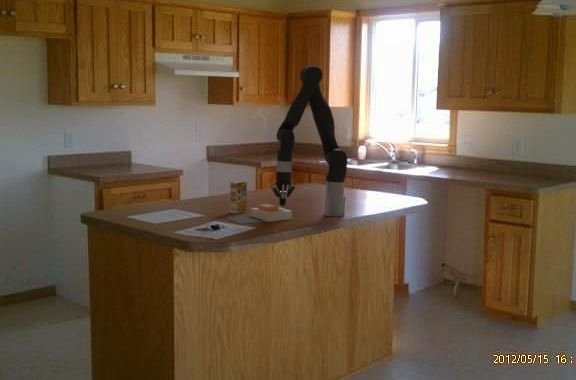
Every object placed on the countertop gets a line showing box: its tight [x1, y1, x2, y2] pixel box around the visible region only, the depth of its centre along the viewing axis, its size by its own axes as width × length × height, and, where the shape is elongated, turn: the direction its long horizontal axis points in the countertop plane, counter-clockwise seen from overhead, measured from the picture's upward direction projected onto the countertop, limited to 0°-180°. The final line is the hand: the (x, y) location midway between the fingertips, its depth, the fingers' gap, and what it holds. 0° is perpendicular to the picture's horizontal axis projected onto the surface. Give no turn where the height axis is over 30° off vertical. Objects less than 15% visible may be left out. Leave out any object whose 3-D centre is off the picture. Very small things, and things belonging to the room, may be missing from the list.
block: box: [257, 203, 280, 212], centre depth 326 cm, size 6×9×2 cm, turn 36°
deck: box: [250, 206, 293, 223], centre depth 328 cm, size 14×14×4 cm
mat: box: [224, 215, 266, 225], centre depth 320 cm, size 14×14×1 cm
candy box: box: [229, 180, 248, 215], centre depth 338 cm, size 9×4×15 cm, turn 146°
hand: (282, 205), depth 331 cm, fingers closed
